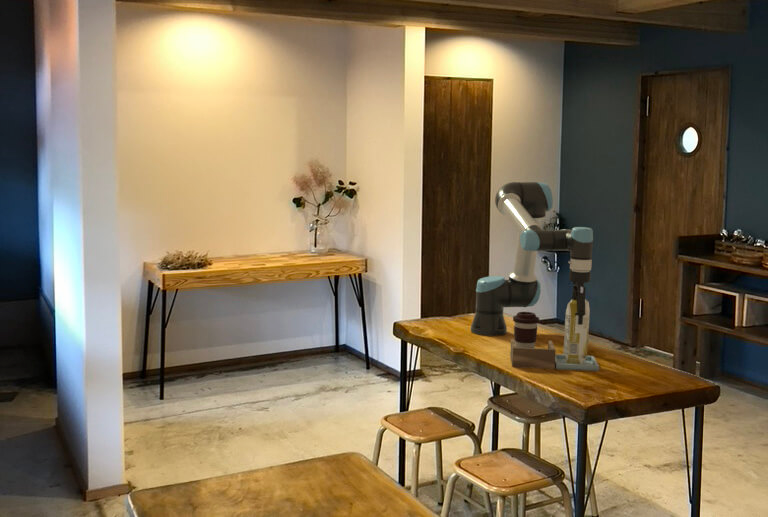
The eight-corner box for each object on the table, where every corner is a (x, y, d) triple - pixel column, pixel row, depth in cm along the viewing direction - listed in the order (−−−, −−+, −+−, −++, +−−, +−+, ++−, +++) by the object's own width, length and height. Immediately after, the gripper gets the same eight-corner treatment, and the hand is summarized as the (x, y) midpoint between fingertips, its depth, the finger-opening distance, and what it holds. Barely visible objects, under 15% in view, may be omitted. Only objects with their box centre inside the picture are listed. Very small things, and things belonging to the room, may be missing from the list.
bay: (510, 356, 323) (511, 338, 322) (550, 358, 322) (551, 340, 321) (512, 367, 309) (513, 348, 308) (554, 369, 308) (555, 349, 307)
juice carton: (584, 367, 308) (588, 301, 305) (561, 364, 311) (565, 299, 307) (587, 361, 317) (591, 297, 313) (565, 358, 319) (569, 295, 316)
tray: (552, 359, 321) (552, 354, 321) (593, 361, 320) (593, 355, 319) (556, 369, 307) (556, 363, 307) (598, 371, 306) (599, 365, 306)
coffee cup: (537, 355, 326) (539, 316, 324) (510, 353, 328) (512, 315, 326) (537, 349, 336) (539, 311, 334) (512, 347, 338) (514, 310, 336)
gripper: (565, 265, 321) (562, 321, 324) (573, 275, 297) (570, 336, 300) (586, 265, 320) (582, 322, 323) (595, 276, 296) (592, 337, 299)
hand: (576, 329), depth 312 cm, fingers open, 12 cm apart
